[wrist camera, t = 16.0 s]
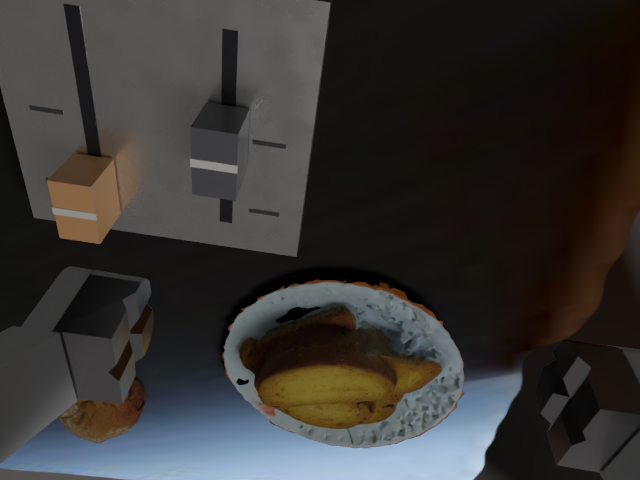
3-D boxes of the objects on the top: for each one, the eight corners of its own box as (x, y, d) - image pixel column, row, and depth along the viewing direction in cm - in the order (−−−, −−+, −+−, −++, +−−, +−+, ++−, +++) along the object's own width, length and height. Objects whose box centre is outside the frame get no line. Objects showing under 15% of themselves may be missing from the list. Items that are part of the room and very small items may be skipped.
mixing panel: (-7, -63, 33) (-37, -56, 30) (333, -9, 33) (330, 2, 31) (51, 197, 45) (33, 218, 43) (300, 235, 45) (296, 257, 43)
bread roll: (71, 351, 64) (26, 410, 59) (99, 349, 56) (50, 417, 52) (135, 391, 68) (97, 450, 64) (169, 395, 60) (129, 462, 56)
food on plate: (336, 449, 66) (333, 500, 61) (180, 348, 57) (161, 398, 51) (511, 368, 54) (525, 423, 49) (351, 222, 45) (348, 271, 39)
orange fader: (72, 152, 38) (45, 180, 35) (114, 159, 38) (90, 187, 35) (82, 207, 41) (58, 238, 38) (121, 213, 41) (100, 244, 38)
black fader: (205, 101, 35) (189, 127, 32) (250, 108, 35) (238, 134, 32) (206, 165, 38) (190, 194, 35) (247, 172, 38) (236, 201, 35)
